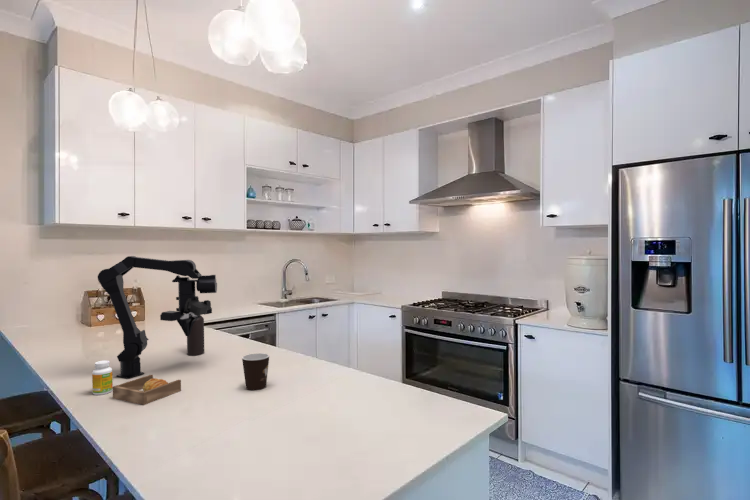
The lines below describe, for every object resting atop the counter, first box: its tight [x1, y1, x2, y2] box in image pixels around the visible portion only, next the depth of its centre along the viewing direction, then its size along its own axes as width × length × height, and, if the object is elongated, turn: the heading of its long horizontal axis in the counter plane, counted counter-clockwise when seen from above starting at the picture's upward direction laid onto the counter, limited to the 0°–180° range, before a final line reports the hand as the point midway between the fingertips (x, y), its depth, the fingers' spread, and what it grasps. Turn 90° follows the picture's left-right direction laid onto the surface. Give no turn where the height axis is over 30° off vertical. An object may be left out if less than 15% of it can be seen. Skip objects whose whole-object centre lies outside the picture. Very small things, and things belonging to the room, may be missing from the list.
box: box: [112, 374, 182, 406], centre depth 132 cm, size 14×13×4 cm
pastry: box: [142, 377, 169, 392], centre depth 134 cm, size 9×7×4 cm
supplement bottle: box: [91, 360, 114, 396], centre depth 134 cm, size 5×5×10 cm
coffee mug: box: [241, 352, 270, 391], centre depth 139 cm, size 12×9×10 cm
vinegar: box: [186, 315, 205, 357], centre depth 180 cm, size 7×7×20 cm
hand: (187, 336), depth 155 cm, fingers closed
